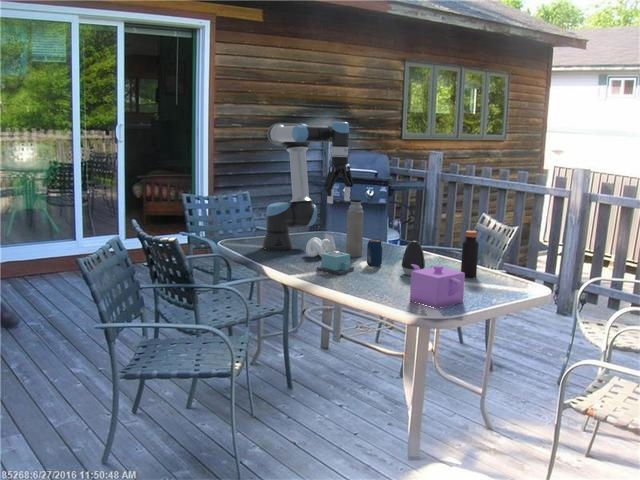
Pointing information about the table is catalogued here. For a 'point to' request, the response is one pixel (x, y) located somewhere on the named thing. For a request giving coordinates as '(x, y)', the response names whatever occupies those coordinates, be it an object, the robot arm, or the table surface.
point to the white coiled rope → (317, 247)
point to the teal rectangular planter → (336, 261)
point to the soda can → (374, 253)
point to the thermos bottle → (354, 229)
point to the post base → (335, 253)
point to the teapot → (436, 286)
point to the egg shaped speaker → (413, 257)
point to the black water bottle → (470, 254)
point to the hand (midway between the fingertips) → (338, 202)
